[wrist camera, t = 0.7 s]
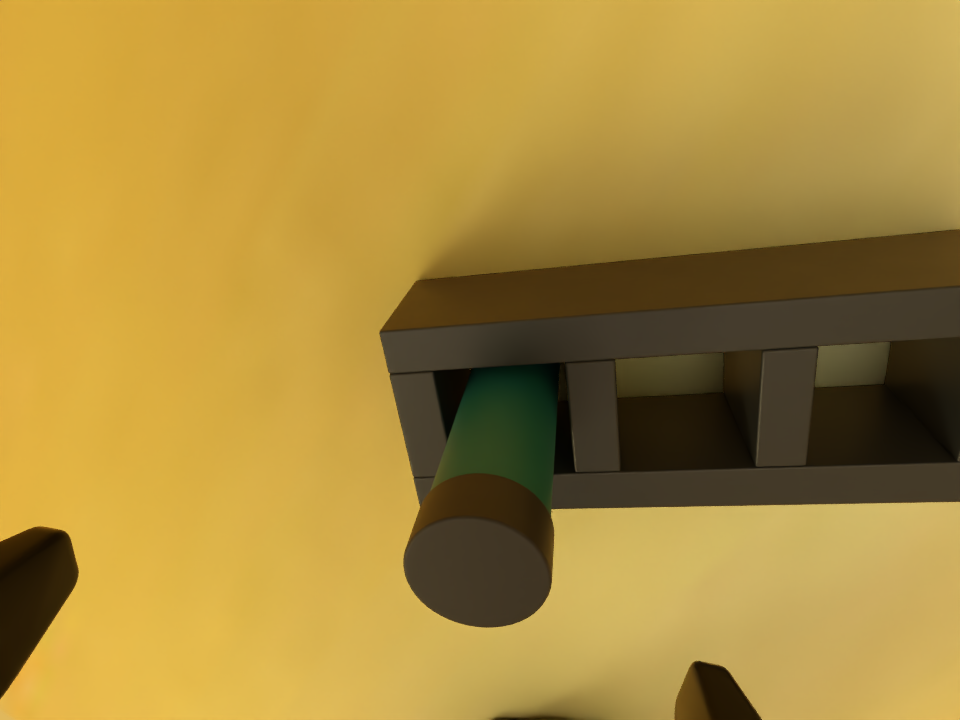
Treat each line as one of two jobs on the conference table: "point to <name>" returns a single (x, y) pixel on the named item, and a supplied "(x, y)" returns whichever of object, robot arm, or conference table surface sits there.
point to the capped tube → (491, 502)
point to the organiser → (747, 372)
